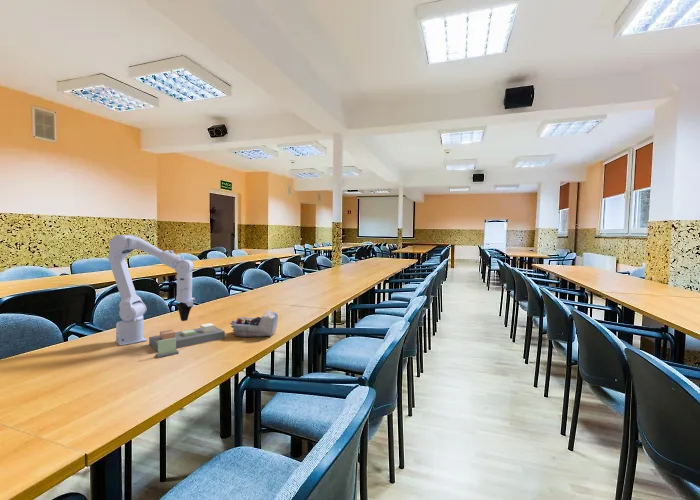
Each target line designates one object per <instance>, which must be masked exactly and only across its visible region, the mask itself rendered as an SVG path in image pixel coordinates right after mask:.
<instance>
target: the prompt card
mask: <svg viewBox="0 0 700 500" xmlns="http://www.w3.org/2000/svg"><path fill="white" fill-rule="evenodd" d="M174 355H179V351H178V350H177V348H176V338H171V339H166V340H160V341H158V351H157V353H155V357H156V358H157V359H161V358H165V357H170V356H174Z"/></svg>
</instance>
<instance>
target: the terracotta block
mask: <svg viewBox="0 0 700 500" xmlns="http://www.w3.org/2000/svg"><path fill="white" fill-rule="evenodd" d="M175 332H176V331H175V330H173V329H169V330H162V331H159V335H160V338H161V339H162V340H166V339H171V338H175Z"/></svg>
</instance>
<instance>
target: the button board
mask: <svg viewBox="0 0 700 500" xmlns="http://www.w3.org/2000/svg"><path fill="white" fill-rule="evenodd" d="M192 330H194V331H196V335H191V336H186V337H184V336H182V335H181V331H182V330H181V331H174V332H175V338H176V349H179V348H185V347H189V346H194V345H198V344H199V345H200V344H204V343H210V342H213V341H214V342H215V341H219V340H223V339H225V338H226V331H225V330H222V329H220V328H218V327H216V326H215V331H212V332H207V333H203V332H201V331H200V327H198V328H192ZM148 340H149V342H148V343H149V344H148V345H149V346H150V347H152V348H153V349H154V350H155V351H156V352H158V341H160V340H162V339H161V338H160V334H159V335H152V336H149V338H148Z"/></svg>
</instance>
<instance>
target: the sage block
mask: <svg viewBox="0 0 700 500" xmlns="http://www.w3.org/2000/svg"><path fill="white" fill-rule="evenodd" d="M192 329H193V328H192ZM192 329H185V330H181V335H182V336H184V337H186V336H191V335H196V331H194V330H192Z"/></svg>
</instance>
